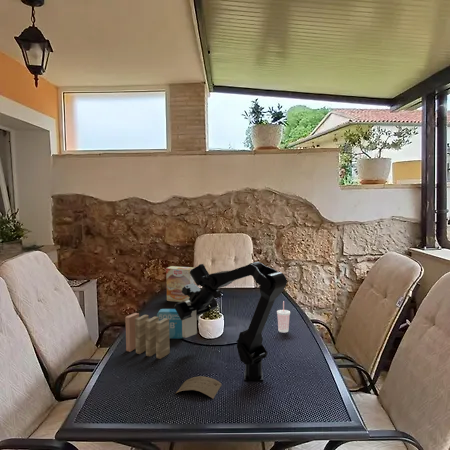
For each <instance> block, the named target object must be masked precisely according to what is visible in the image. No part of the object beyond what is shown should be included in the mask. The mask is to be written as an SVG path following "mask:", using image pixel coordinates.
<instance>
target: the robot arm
mask: <svg viewBox="0 0 450 450" xmlns="http://www.w3.org/2000/svg"><path fill="white" fill-rule="evenodd" d="M193 268H194V269H192V270H191V271H190V275H191V276H192V278H193V280H194V284H193V283H192V284H188V285H186V286H184V288H182V293H183V294H184V295H185V296H186V295H188V296H189V297H190V298H189V300H190V302H191V303H190V304H191V305H189V306H188V305H187V303H186V302H185V301H182V302H176V303H175V304H174V306H173V309H175V310H176V311H177V313H178V315H179V317H180V319H181V321H182V320H184V319H187V318H190V317H192V316H191V313H192V311H195V310H196V317H197V316H199V315H202V314H205V313H207V312H210V311H212V310H216V308H218V302H217V300H216V299H219V298H222V297H223V295H222V291H221V290H220V289H221V288H225V287H227V286H229V285H231V284H232V283H233V282H235V281H237V280H239V279H240V280H241V279H243V278H247V277H250V276H251V277H252V278H253V280H254V281H255V283H256V284H258V285H259V292H260V297H259V300H258V302H257V304H256V307H255V310H254V312H253V315H252V318H251V319H250V323H249V326H248V328H247V329H245V330H242V331H240V332H239V334H238V339H237V340H236V341H235V342H236V348H237V353H238V356H239V360H240V362H242V363H243V364H244V369H245V370H244V371H243V378H244V379H243V380H244V381H245V382H246V381H248V382H251V381H253V382H263V381H264V373H263V371H262V370H263V368H262V367H263V365H262V364H263V361H262V360H263V359H266V358H267V356H268V351H267V349H266V348H265V347H264V344H263V334H262V333H263V330H264V329H265V326H266V323H267V321H268V318H269V315H270V313H271V310H272V308H273V305H274V304H275V303H274V302H275V301H276V299H277V298H278V297H279V296H281V294H282V293H283V291H284V290H285V288H286V287H287V284H288V280H287V277H286V276H285V273H283V272H281V271H278V270H276V269H275V268H272V267H270V266H267V265H265V264H264V263H262V262H260V261H255V262H250V263H248V264H247V265H244V266H240V267H238V268H233V269H231V270H222V271H217V272H214V273H209V272H208V271H209V270H207V269H206V266H205V264H204V263H200V264H198V265H197V266H195V267H193ZM199 286H200V287H199Z"/></svg>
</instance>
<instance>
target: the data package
mask: <svg viewBox="0 0 450 450" xmlns="http://www.w3.org/2000/svg"><path fill="white" fill-rule="evenodd" d="M156 317H159V321H160V320H162V319H164V318H167V319H169V340H170V339H174V340H175V339H177V340H179V339H180V340H181V339H184V338H185V337H182V321H181V319H180V317H179V315H178V313H177V311H176V310H175V308H160V309H159V310H158V312H157V314H156Z"/></svg>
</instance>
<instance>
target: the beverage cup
mask: <svg viewBox="0 0 450 450" xmlns="http://www.w3.org/2000/svg"><path fill="white" fill-rule="evenodd" d="M276 314H277V329H278V332H279V333H288V332H289V327H290V315H291V311H290V310H288V309H285V301H284V300H283V302H282V309H278V310H276Z"/></svg>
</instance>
